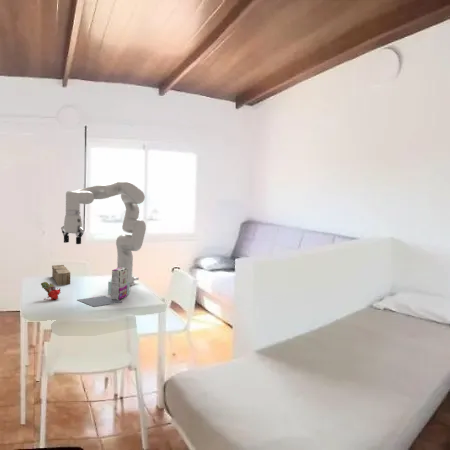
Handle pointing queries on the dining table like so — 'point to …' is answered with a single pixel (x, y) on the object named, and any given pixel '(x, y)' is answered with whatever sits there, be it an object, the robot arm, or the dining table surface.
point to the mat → (99, 301)
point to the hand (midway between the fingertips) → (72, 243)
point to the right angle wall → (111, 286)
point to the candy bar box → (119, 283)
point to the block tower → (61, 274)
